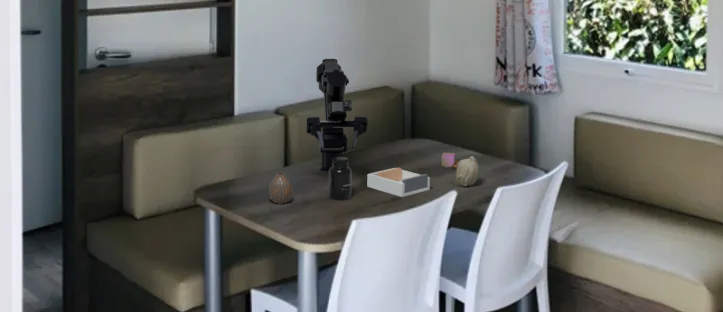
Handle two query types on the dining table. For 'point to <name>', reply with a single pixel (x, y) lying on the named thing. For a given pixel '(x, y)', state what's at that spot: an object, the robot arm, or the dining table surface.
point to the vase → (280, 189)
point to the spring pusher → (391, 174)
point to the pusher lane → (400, 183)
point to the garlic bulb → (467, 172)
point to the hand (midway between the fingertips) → (338, 148)
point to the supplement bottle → (340, 179)
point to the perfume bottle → (449, 160)
